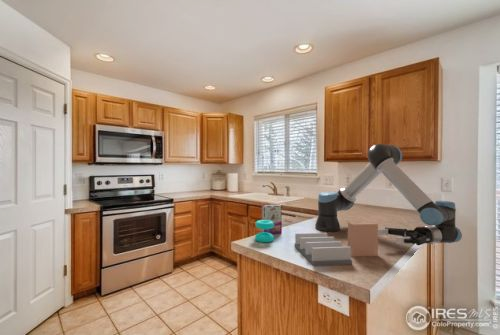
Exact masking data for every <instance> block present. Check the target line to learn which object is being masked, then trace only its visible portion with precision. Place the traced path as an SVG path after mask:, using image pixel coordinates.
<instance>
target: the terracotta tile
mask: <svg viewBox="0 0 500 335" xmlns="http://www.w3.org/2000/svg"><path fill="white" fill-rule="evenodd" d="M378 229H379V224H378V223H376V222H373V221H365V222H364V221H362V222H361V221H359V222H347V246H350V247H351V258H352V257H373V256H374V257H375V256H376V257H377V256H378V254H379V252H378V251H379V235H378Z"/></svg>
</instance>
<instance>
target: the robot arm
mask: <svg viewBox="0 0 500 335" xmlns="http://www.w3.org/2000/svg"><path fill="white" fill-rule="evenodd" d="M367 159H368V163H367V164H366V166H365V167H364V168H362V169H361V171H359V173H358V174H356V176H355V177H354V178H353V179H351V181H350V182H349V183H348V184H347V185H346V186H345V187H342V188H340V189H339V190H338V191H337V192H336V191H322V192H320V193H319V194H318V196H317V197H318V198H317V201H318V202H317V205H318V206H317V212H318V213H317V218H316V221H315V224H314V225H315V226H314V227H315V229H316V230H319V231H320V232H321V231H323V232H331V233H332V232H340V230H341V225H340V222H339V219H338V212H342V211H348V210H350V209H352V208H353V207H354V205H355V202H356V200H357V196H359V194H361V193H362V191H364V190H365V189H366V188H367V187H368V186H369V185H370V184H371V183H372V182H373V181H374V180H375V179H376V178H377V177H378V176H379V175H380V174H381V173H382V175H383V176H384V177H386V179H387V180H388V181H389V182H390V184H392V185H393V186H394V187H395V189H397V191H398V192H399V193H400V194H401V195H402V196H403V198H404V199H406V200H407V202H409V203H410V205H411V206H412V207H413V208H414V209H415V210H416V211H417V212H418V214H419V218H420V221H421V222H422V223H423V224H425V225H426V226H416V227H415V228H414V229H407V228H397V227H394V228H393V227H384V228H378V236H388V235H393V236H395V244H396V245H407V244H408V245H409V244H412V245H416V246H421V245H424V244H431V245H433V244H444V243H445V244H447V243H448V244H453V243H457V242H460V241H461V240H462V238H463V234H462V232H461V230H460V229H459V227H457V226H456V213H457V212H456V211H457V208H456V203H455V202H454V201H450V200H449V201H448V200H436V201H435V202H434V201H433V200H432V198H430V197H429V196H428V195H427V194H426V192H424V191H423V189H421V188H420V187H419V185H417V183H415V182H414V180H412V179H411V178H410V177H409V176H408V175H407V174H406V173H405V172H404V171H403V170H402V169H401V168H400V167H399V166H398V165H399V164H400V162H401V161H402V160H403V153H402V150H401V149H400V148H399V147H398V146H396V145H394V144H384V143H376V144H373V145H372V146H371V147H370V148H369V149H368V150H367ZM427 225H428V226H427Z"/></svg>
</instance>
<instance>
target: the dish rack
mask: <svg viewBox="0 0 500 335" xmlns="http://www.w3.org/2000/svg"><path fill="white" fill-rule="evenodd" d="M294 235H295V236H294V241H295V242H294V247H295V248H296V249H297V250H298V251H299V252H300V253H301V255H303V256H304V257H305V258H306V260H308V261H309V263H310V264H311V265H313V267H318V266H340V265H341V266H343V265H345V266H346V265H353V260H352V259H351V258H352V256H351V247H350V246H348V245H347V246H343V242H342V241H341V240H339V241H337V240H335V236H328V233H327V232H305V233H304V232H301V233H296V232H295V234H294Z"/></svg>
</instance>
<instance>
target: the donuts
mask: <svg viewBox="0 0 500 335" xmlns="http://www.w3.org/2000/svg"><path fill="white" fill-rule="evenodd" d="M254 224H255V227H256V228H257V229H260V230H262V229H271V228H273V226H274V223H273V222H272V221H269V220H262V219H259V220H257V221H256V222H254ZM254 238H255V240H256V241H257V242H259V243H271V242H273V241H274V238H275V235H274V234H271V233H268V232H262V231H260V232H257V234H255V236H254Z"/></svg>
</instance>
